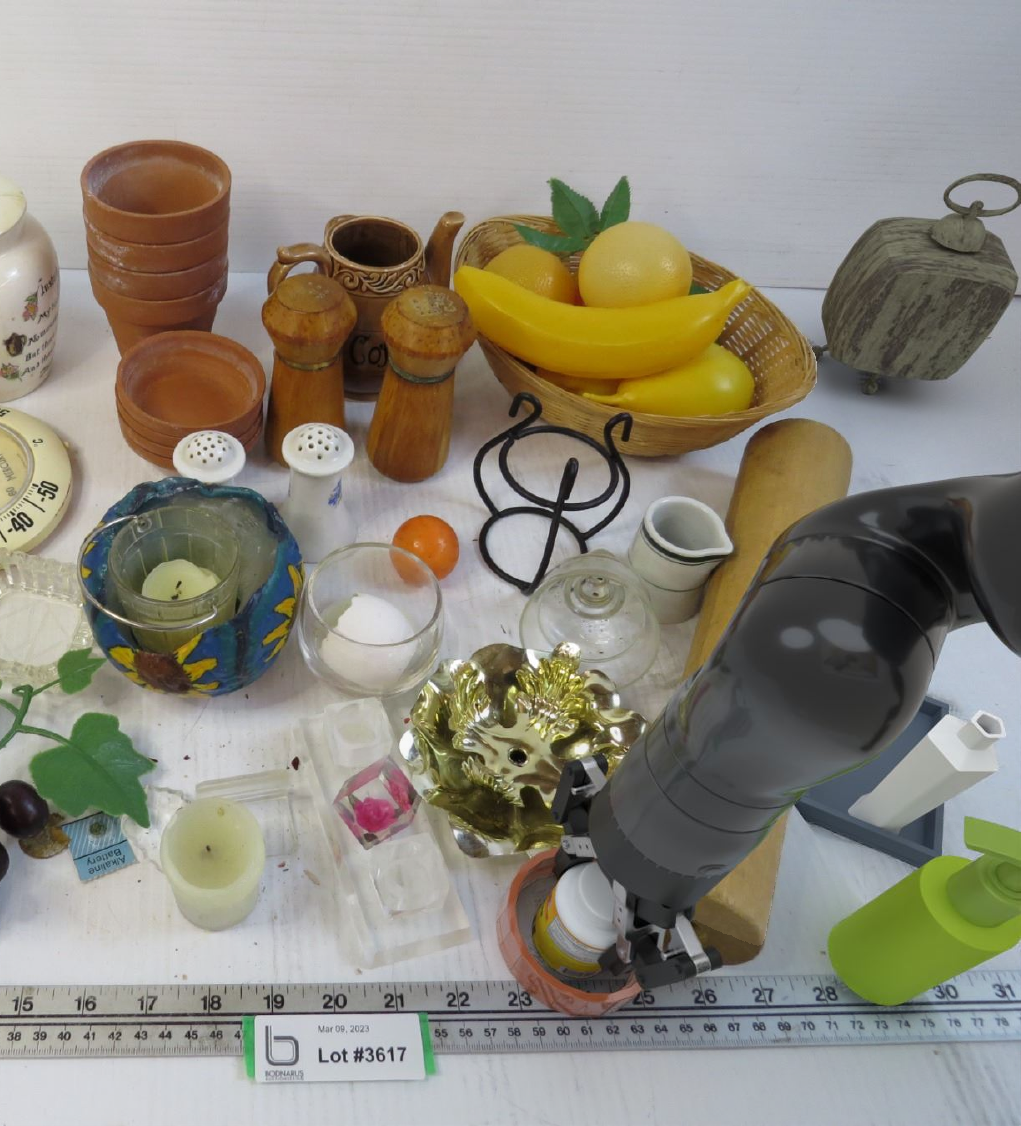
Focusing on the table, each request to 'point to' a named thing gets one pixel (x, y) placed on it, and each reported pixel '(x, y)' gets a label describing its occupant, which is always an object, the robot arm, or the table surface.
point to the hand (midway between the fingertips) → (589, 915)
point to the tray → (842, 792)
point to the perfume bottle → (933, 771)
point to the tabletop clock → (920, 292)
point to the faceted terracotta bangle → (531, 971)
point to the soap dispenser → (934, 920)
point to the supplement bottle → (576, 922)
